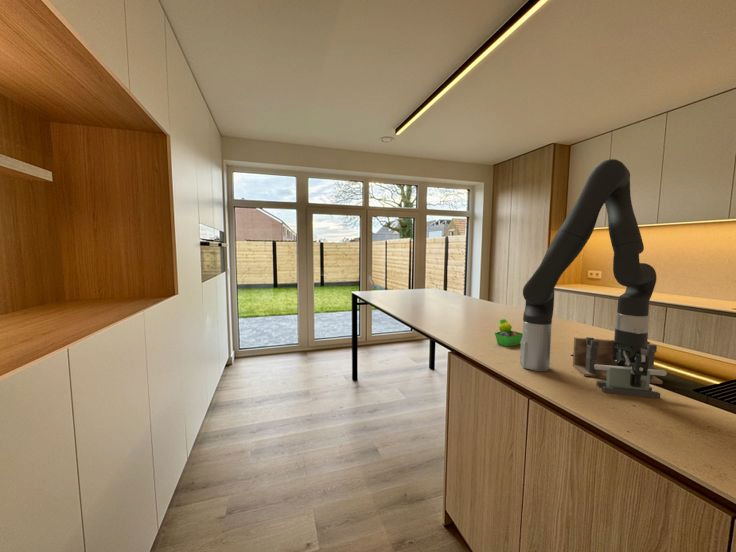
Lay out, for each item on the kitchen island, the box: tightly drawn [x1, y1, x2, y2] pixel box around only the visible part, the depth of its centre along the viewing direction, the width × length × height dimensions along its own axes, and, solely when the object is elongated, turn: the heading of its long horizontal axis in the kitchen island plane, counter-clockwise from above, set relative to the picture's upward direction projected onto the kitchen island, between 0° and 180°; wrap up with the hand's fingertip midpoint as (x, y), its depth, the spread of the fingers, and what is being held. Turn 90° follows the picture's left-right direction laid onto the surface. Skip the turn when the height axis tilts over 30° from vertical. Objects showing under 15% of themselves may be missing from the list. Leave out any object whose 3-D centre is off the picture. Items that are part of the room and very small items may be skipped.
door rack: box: [595, 380, 661, 399], centre depth 90 cm, size 14×5×2 cm, turn 74°
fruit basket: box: [494, 318, 523, 347], centre depth 138 cm, size 11×9×11 cm
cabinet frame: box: [572, 336, 663, 385], centre depth 103 cm, size 22×10×13 cm, turn 74°
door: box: [594, 364, 668, 391], centre depth 90 cm, size 18×3×8 cm, turn 74°
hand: (627, 380), depth 90 cm, fingers open, 7 cm apart
